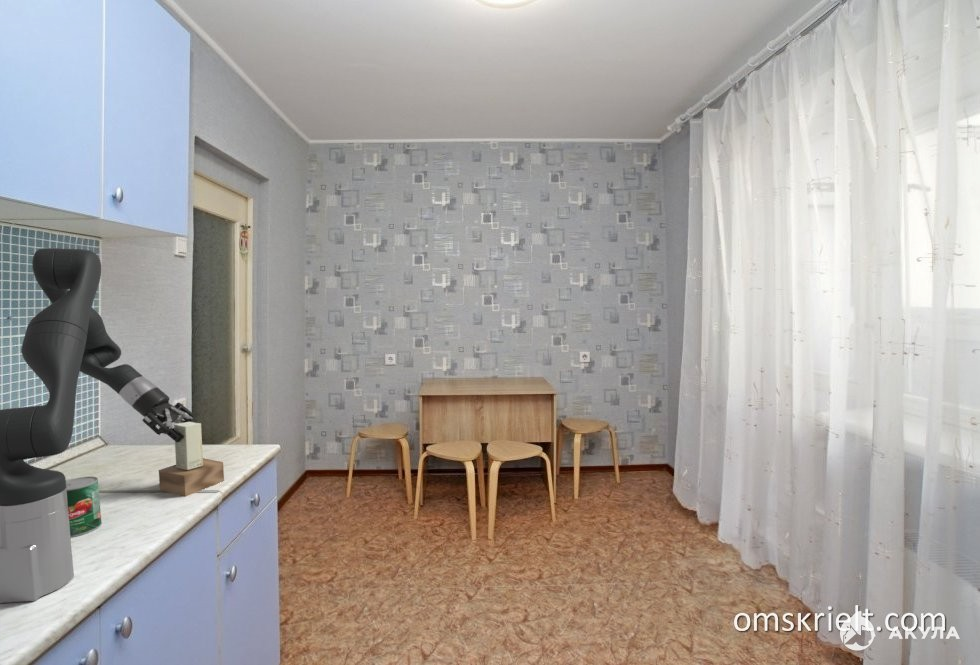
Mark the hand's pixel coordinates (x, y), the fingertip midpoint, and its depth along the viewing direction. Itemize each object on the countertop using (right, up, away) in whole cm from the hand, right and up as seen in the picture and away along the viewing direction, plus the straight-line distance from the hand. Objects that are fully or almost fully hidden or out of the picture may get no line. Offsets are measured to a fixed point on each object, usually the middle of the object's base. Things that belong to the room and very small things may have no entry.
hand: (190, 435), depth 128 cm
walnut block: (0, -15, +1) cm, 15 cm away
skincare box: (0, -9, -1) cm, 9 cm away
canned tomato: (-10, -16, -24) cm, 30 cm away
